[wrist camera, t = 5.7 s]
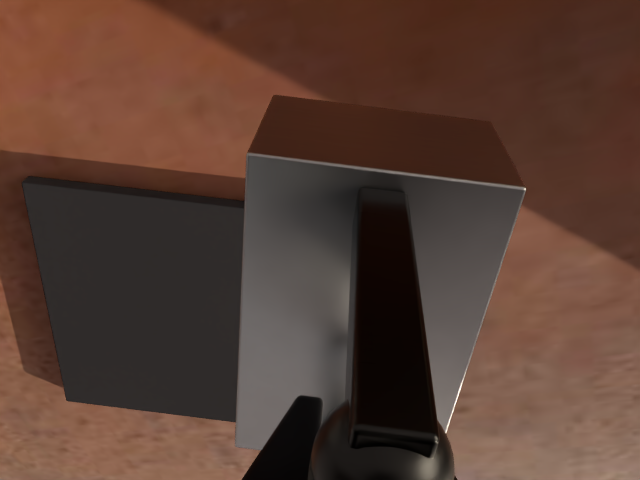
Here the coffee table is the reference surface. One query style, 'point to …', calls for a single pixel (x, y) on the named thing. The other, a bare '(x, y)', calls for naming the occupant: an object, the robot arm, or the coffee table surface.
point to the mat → (141, 294)
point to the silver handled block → (368, 278)
